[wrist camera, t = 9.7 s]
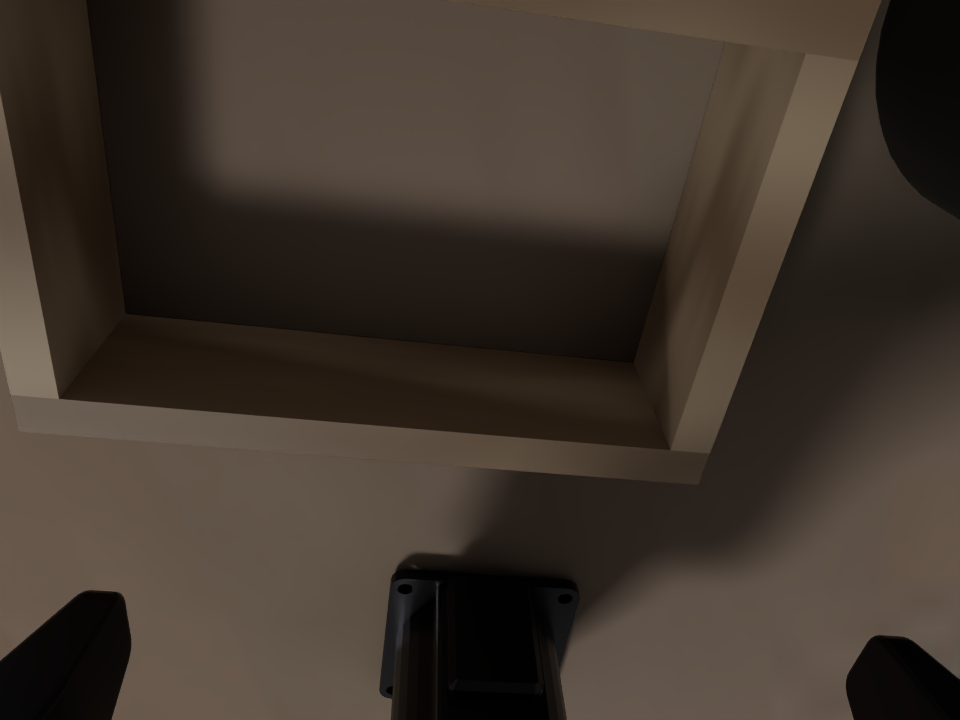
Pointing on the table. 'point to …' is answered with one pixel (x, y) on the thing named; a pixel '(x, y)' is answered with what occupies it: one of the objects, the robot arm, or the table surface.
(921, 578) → the table surface
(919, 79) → the mug
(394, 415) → the frame
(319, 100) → the table surface
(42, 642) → the robot arm
